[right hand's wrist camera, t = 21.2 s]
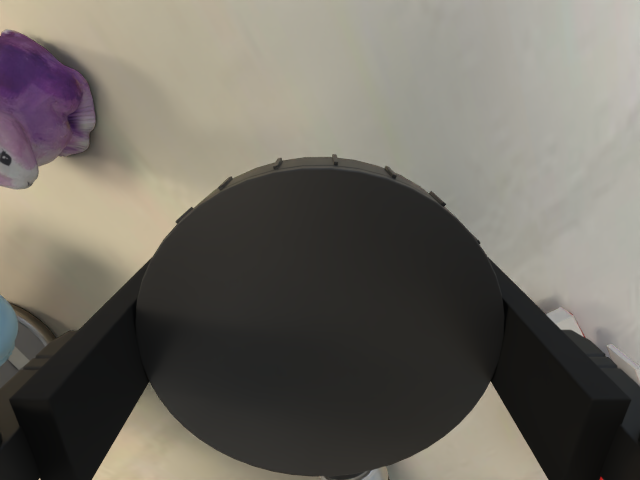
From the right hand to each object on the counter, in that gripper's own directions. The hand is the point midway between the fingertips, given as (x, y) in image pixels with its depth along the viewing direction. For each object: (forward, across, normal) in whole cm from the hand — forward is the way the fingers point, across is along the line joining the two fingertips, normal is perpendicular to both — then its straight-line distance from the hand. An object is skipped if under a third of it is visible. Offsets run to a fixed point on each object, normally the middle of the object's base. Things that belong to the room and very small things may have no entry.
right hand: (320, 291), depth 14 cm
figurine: (+26, -24, +5) cm, 36 cm away
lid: (-3, 0, 0) cm, 3 cm away
